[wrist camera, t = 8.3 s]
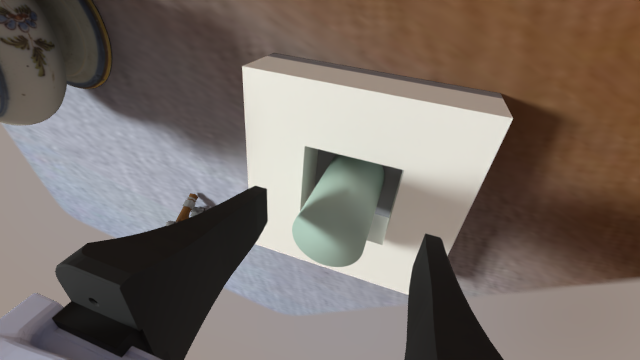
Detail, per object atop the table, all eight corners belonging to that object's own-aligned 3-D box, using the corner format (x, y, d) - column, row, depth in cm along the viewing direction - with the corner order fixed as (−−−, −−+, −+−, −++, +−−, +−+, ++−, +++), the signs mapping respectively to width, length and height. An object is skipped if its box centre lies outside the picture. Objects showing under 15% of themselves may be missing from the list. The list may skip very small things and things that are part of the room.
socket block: (500, 93, 17) (513, 118, 14) (428, 260, 25) (426, 300, 22) (273, 53, 20) (242, 66, 17) (273, 213, 28) (251, 242, 25)
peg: (389, 155, 20) (368, 220, 15) (379, 202, 23) (359, 275, 17) (331, 143, 21) (292, 201, 16) (327, 190, 23) (292, 255, 18)
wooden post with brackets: (195, 189, 29) (171, 233, 26) (232, 227, 35) (214, 265, 33) (180, 187, 29) (154, 230, 27) (218, 225, 36) (200, 262, 33)
